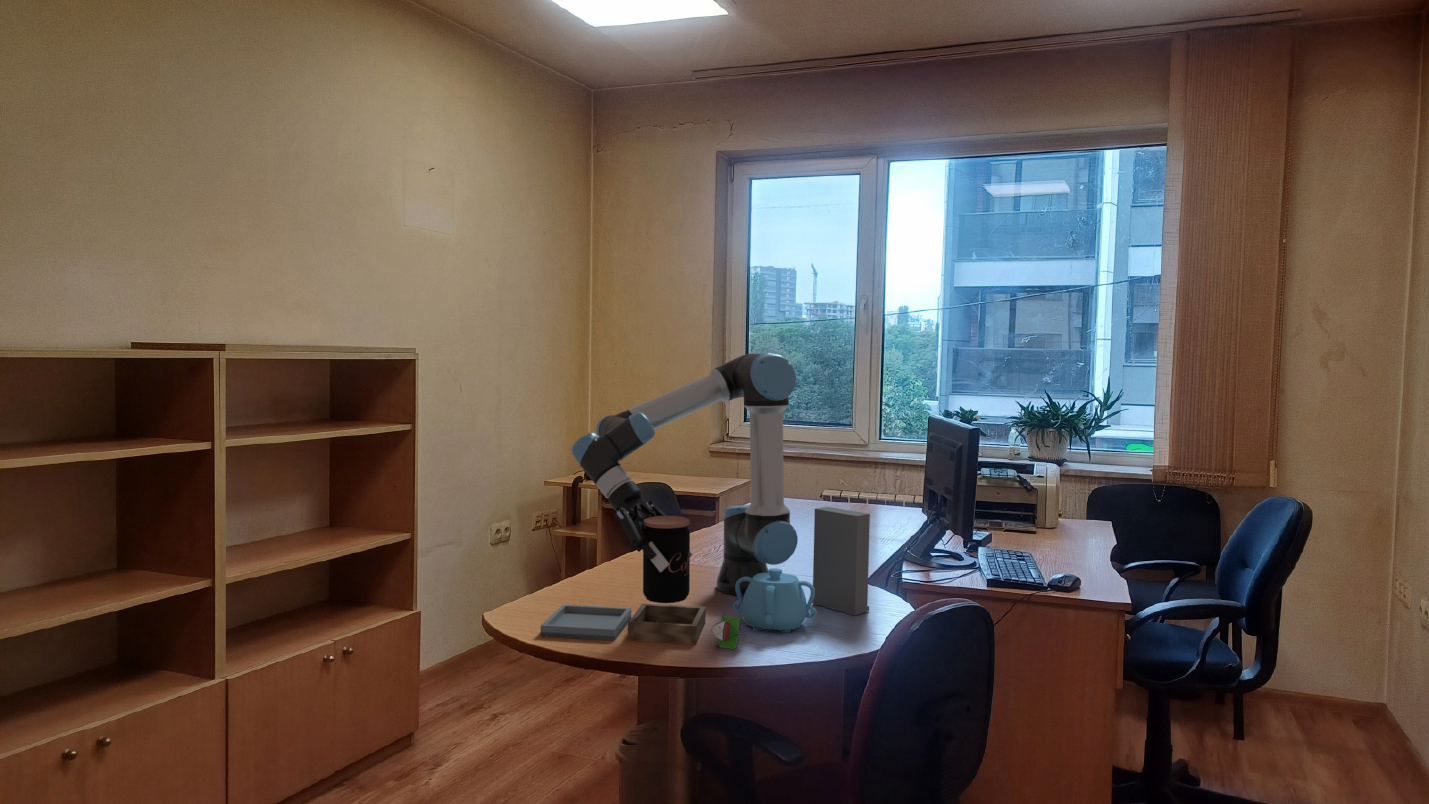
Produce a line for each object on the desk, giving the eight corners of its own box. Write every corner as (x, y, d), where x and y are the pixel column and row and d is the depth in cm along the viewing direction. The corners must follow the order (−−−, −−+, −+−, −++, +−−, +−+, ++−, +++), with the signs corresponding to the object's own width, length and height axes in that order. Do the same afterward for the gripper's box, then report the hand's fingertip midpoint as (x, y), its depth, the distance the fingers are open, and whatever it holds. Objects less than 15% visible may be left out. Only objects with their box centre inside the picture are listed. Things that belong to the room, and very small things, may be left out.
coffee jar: (672, 606, 191) (672, 526, 190) (633, 599, 197) (633, 521, 196) (698, 595, 200) (698, 518, 199) (660, 588, 206) (661, 514, 205)
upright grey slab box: (869, 611, 218) (872, 513, 217) (855, 616, 214) (857, 516, 213) (826, 600, 228) (828, 506, 227) (811, 604, 224) (813, 508, 223)
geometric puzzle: (723, 628, 195) (715, 605, 191) (752, 632, 193) (744, 609, 188) (713, 655, 190) (705, 632, 186) (742, 659, 188) (735, 636, 183)
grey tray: (631, 618, 209) (631, 608, 209) (614, 640, 192) (614, 629, 192) (563, 614, 211) (563, 604, 211) (540, 636, 194) (540, 625, 194)
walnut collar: (705, 623, 206) (705, 606, 206) (696, 644, 190) (696, 626, 190) (641, 620, 208) (642, 603, 207) (627, 640, 192) (627, 622, 192)
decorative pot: (787, 613, 216) (788, 559, 215) (821, 631, 201) (822, 573, 201) (728, 620, 209) (729, 564, 208) (759, 640, 194) (760, 580, 194)
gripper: (636, 493, 215) (691, 562, 208) (581, 507, 194) (640, 584, 188) (654, 473, 212) (710, 543, 206) (601, 485, 191) (661, 563, 185)
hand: (677, 563), depth 197 cm, fingers closed on coffee jar, 11 cm apart
